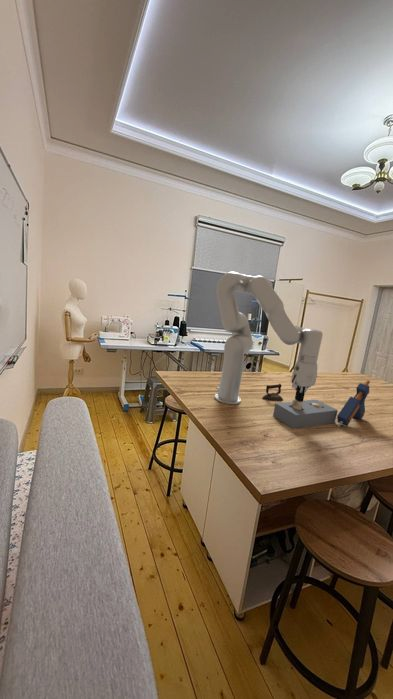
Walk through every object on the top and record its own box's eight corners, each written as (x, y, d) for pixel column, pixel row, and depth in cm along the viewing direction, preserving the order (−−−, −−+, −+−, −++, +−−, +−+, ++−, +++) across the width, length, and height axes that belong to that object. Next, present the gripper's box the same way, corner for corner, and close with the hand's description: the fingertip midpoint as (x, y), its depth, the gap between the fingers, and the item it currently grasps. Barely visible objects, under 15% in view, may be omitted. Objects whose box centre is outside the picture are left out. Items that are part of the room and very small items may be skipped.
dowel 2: (307, 413, 131) (309, 403, 130) (314, 412, 134) (316, 402, 132) (315, 417, 128) (317, 407, 127) (321, 416, 130) (324, 406, 129)
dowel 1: (288, 409, 125) (290, 398, 124) (295, 408, 127) (297, 397, 126) (295, 413, 121) (298, 402, 120) (303, 412, 123) (305, 401, 122)
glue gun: (335, 442, 132) (333, 422, 124) (359, 396, 147) (358, 375, 138) (349, 448, 128) (348, 427, 120) (372, 399, 143) (372, 378, 134)
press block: (272, 415, 127) (275, 403, 125) (313, 411, 139) (315, 399, 138) (293, 428, 116) (296, 415, 115) (334, 422, 129) (337, 410, 128)
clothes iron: (283, 401, 149) (285, 384, 145) (266, 407, 144) (268, 390, 140) (274, 394, 155) (276, 378, 151) (258, 400, 150) (259, 384, 146)
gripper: (301, 361, 112) (292, 405, 116) (327, 361, 119) (317, 402, 123) (287, 356, 119) (279, 398, 122) (312, 356, 126) (304, 396, 129)
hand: (298, 400), depth 123 cm, fingers closed
